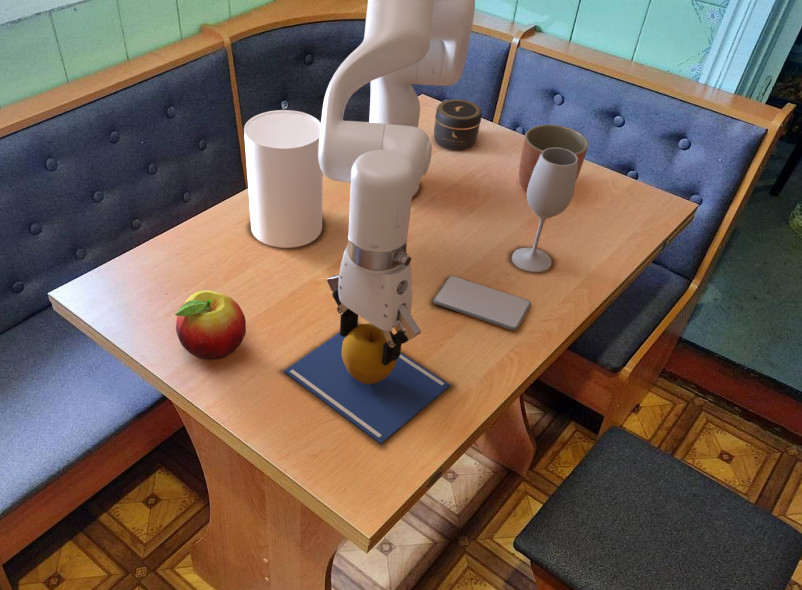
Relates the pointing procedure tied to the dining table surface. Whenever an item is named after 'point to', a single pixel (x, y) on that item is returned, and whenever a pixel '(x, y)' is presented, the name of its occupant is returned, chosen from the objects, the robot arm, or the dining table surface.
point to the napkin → (367, 389)
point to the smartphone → (482, 302)
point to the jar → (457, 124)
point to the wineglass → (547, 200)
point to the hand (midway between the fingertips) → (369, 345)
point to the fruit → (210, 325)
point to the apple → (366, 354)
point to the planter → (549, 138)
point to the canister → (284, 177)
